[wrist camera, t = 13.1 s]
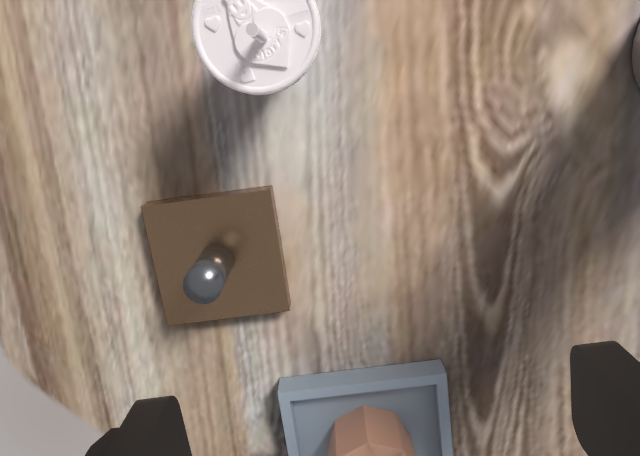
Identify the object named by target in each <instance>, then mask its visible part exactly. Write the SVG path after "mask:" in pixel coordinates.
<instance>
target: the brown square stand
mask: <svg viewBox="0 0 640 456" xmlns="http://www.w3.org/2000/svg"><path fill="white" fill-rule="evenodd" d="M141 210H142V214H143V219H144V223H145V227H146V232H147V236H148V241H149V245H150V249H151V254H152V258H153V263H154V267H155V272H156V276H157V280H158V285H159V289H160V294H161V298H162V302H163V307H164V311H165V316H166V320H167V325H168V326H169V325H177V324H185V323H194V322H202V321H210V320H218V319H226V318H234V317H243V316H251V315H259V314H267V313H275V312H283V311H290V305H291V301H290V294H289V288H288V282H287V275H286V269H285V263H284V256H283V250H282V244H281V237H280V231H279V225H278V218H277V212H276V206H275V200H274V193H273V187H272V186H264V187H257V188H249V189H241V190H234V191H226V192H218V193H211V194H203V195H196V196H188V197H180V198H173V199H165V200H157V201H150V202H147V203H145V204H144V205H142V206H141Z"/></svg>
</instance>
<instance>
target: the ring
mask: <svg viewBox="0 0 640 456" xmlns="http://www.w3.org/2000/svg"><path fill="white" fill-rule="evenodd" d="M327 456H416V455H415V451H414V447H413V443H412V439H411V436H410V434H409V433H408V431H407V430H406V428H405V427H404V425H403V424H402V422H401V421H400V419H399V418H398V416H397V415H396V413H395V412H393V411H388V410H383V409H379V408H374V407H369V406H364V405H362V406H361V407H359V408H357V409H355V410H353V411H351V412H349V413H347V414H346V415H344V416H342V417H340V418H338V419H336V420H335V422H334V425H333V429H332V432H331V436H330V439H329V443H328V447H327Z"/></svg>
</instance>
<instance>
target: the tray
mask: <svg viewBox="0 0 640 456" xmlns="http://www.w3.org/2000/svg"><path fill="white" fill-rule="evenodd" d="M278 399H279V405H280V410H281V416H282V422H283V428H284V433H285V439H286V445H287V451H288V456H327V447H328V443H329V439H330V436H331V432H332V429H333V425H334V422H335V420H336V419H338V418H340V417H342V416H344V415H346V414H347V413H349V412H351V411H353V410H355V409H357V408H359V407H361V406H362V405H364V406H369V407H374V408H379V409H383V410H388V411H393V412H395V413H396V415H397V416H398V418H399V419H400V421H401V422H402V424H403V425H404V427H405V428H406V430H407V431H408V433H409V434H410V436H411V439H412V443H413V447H414V451H415V455H416V456H453V449H452V436H451V423H450V410H449V398H448V385H447V373H446V371H445V369H444V366H443V364H442V362H441V359H437V360H429V361H421V362H412V363H404V364H395V365H387V366H378V367H370V368H361V369H353V370H344V371H336V372H327V373H319V374H310V375H302V376H293V377H285V378H280V379H279V386H278Z"/></svg>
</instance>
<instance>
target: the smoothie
mask: <svg viewBox="0 0 640 456" xmlns="http://www.w3.org/2000/svg"><path fill="white" fill-rule="evenodd" d="M191 28H192V36H193V41H194V45H195V48H196V51H197V53H198V55H199V57H200V59H201V61H202V63H203V64H204V66H205V67H206V68H207V70H208V71H209V72H210V73H211V74H212V75H213V76H214V77H215V78H216V79H217V80H218V81H220V82H221V83H222V84H224V85H226V86H227V87H229V88H231V89H233V90H236V91H238V92H242V93H246V94H250V95H269V94H273V93H276V92H279V91H283V90H285V89H287V88H288V87H290V86H291V85H293V84H294V83H296V82H298V81H299V80H300V78H301V77H302V76H303V75H304V74H305V73H306V72H307V71H308V70H309V68H310V66H311V64H312V63H313V61H314V59H315V57H316V55H317V52H318V47H319V43H320V38H321V22H320V16H319V12H318V9H317V5H316V2H315V0H195V4H194V7H193V12H192V21H191Z"/></svg>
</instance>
